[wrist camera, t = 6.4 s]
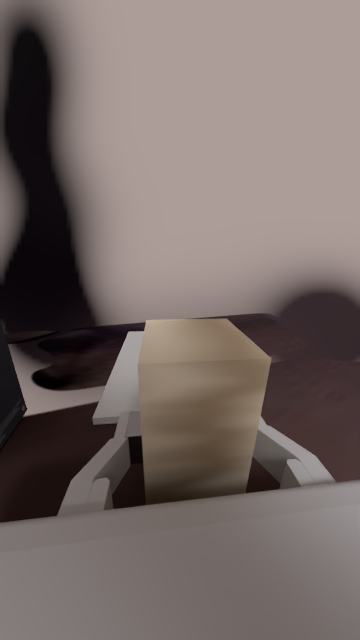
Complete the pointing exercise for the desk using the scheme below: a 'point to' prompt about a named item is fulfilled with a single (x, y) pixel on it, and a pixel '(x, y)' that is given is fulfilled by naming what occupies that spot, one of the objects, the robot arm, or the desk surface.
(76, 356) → the desk surface
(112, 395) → the rubber mat
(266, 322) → the desk surface
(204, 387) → the maple block
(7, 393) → the small box
